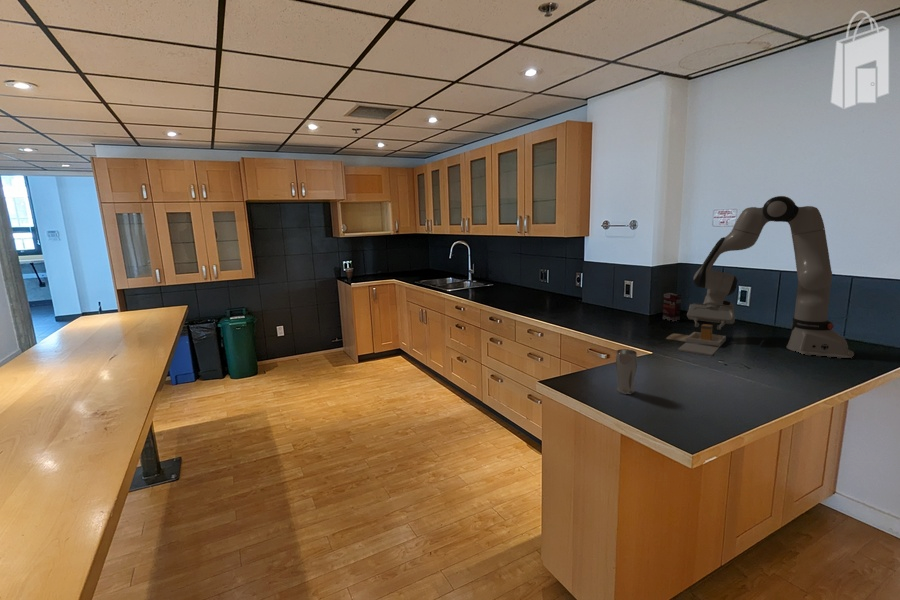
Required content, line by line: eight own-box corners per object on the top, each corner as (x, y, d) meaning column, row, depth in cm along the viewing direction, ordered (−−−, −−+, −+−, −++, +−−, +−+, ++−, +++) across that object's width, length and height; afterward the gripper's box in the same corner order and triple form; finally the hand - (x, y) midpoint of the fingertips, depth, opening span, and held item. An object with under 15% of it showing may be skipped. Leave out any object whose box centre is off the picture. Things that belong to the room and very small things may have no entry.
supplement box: (661, 319, 254) (663, 293, 251) (667, 318, 256) (668, 292, 253) (674, 321, 247) (676, 295, 244) (680, 320, 249) (681, 294, 246)
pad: (691, 337, 214) (692, 335, 214) (685, 343, 205) (685, 341, 205) (672, 335, 220) (672, 333, 220) (665, 340, 212) (665, 338, 211)
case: (725, 341, 205) (726, 335, 204) (712, 356, 185) (712, 349, 185) (693, 337, 214) (693, 331, 214) (677, 350, 195) (678, 344, 194)
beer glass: (618, 386, 157) (619, 347, 155) (638, 390, 153) (639, 350, 150) (612, 392, 152) (613, 352, 149) (632, 396, 148) (633, 356, 145)
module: (711, 340, 205) (712, 325, 203) (709, 342, 202) (710, 326, 200) (702, 339, 207) (703, 323, 206) (700, 341, 204) (701, 325, 203)
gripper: (689, 299, 215) (682, 321, 210) (737, 303, 201) (731, 327, 196) (691, 306, 219) (684, 328, 214) (738, 310, 205) (732, 334, 200)
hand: (707, 327), depth 205 cm, fingers open, 8 cm apart
